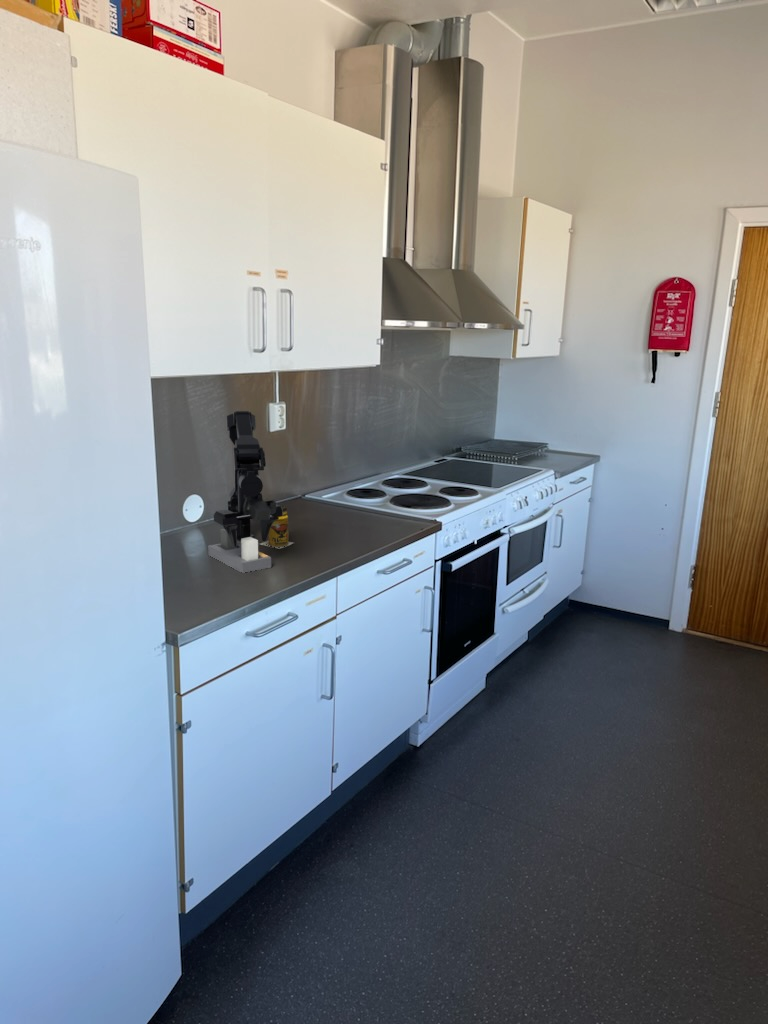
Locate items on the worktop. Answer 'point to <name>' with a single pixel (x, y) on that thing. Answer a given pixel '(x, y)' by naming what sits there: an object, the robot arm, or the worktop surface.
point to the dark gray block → (226, 540)
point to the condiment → (279, 532)
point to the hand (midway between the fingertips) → (249, 543)
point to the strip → (239, 558)
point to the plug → (249, 548)
